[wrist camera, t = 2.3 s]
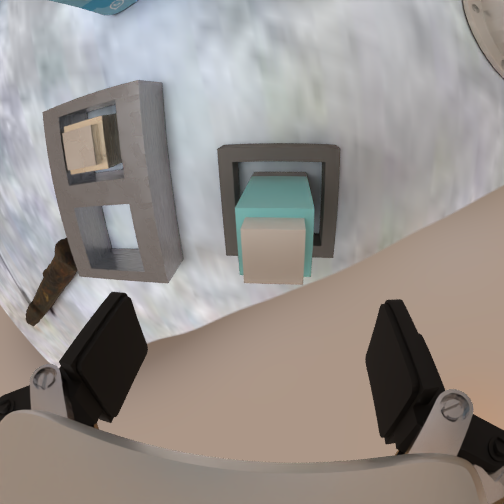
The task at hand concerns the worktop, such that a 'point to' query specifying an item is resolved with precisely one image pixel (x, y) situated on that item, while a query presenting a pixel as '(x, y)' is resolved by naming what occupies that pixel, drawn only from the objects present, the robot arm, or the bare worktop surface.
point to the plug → (275, 228)
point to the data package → (100, 5)
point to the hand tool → (52, 282)
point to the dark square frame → (281, 152)
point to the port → (115, 181)
